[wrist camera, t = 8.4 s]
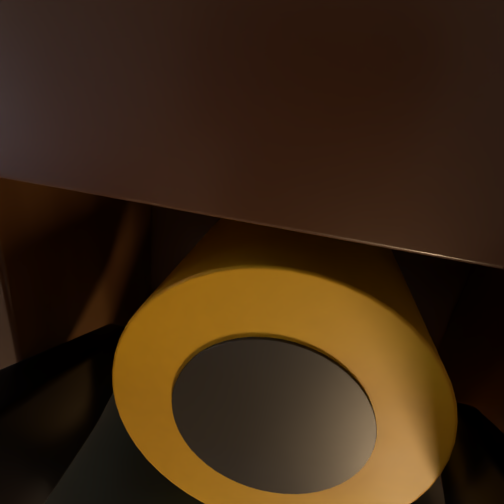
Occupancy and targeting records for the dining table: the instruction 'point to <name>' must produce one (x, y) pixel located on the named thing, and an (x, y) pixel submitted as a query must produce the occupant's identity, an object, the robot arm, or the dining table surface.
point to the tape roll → (286, 374)
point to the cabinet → (269, 113)
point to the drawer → (147, 281)
